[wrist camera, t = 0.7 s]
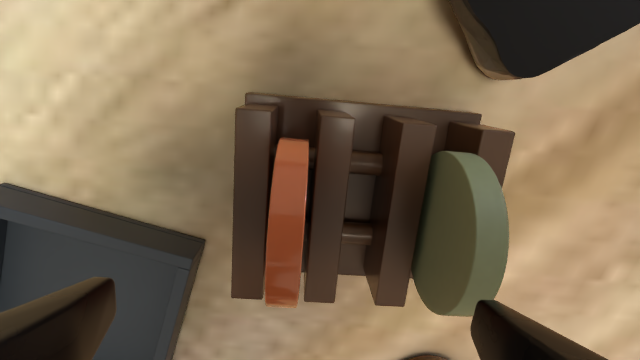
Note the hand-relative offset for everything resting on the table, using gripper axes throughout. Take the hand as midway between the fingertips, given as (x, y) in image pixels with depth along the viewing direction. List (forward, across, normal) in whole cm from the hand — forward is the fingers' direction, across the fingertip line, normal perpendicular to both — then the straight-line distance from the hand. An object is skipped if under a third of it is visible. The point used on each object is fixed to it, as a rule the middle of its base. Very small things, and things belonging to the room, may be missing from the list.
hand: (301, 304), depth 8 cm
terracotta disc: (+6, +1, 0) cm, 6 cm away
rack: (+12, -3, 0) cm, 12 cm away
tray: (+12, +12, +9) cm, 19 cm away
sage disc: (+6, -6, 0) cm, 9 cm away
